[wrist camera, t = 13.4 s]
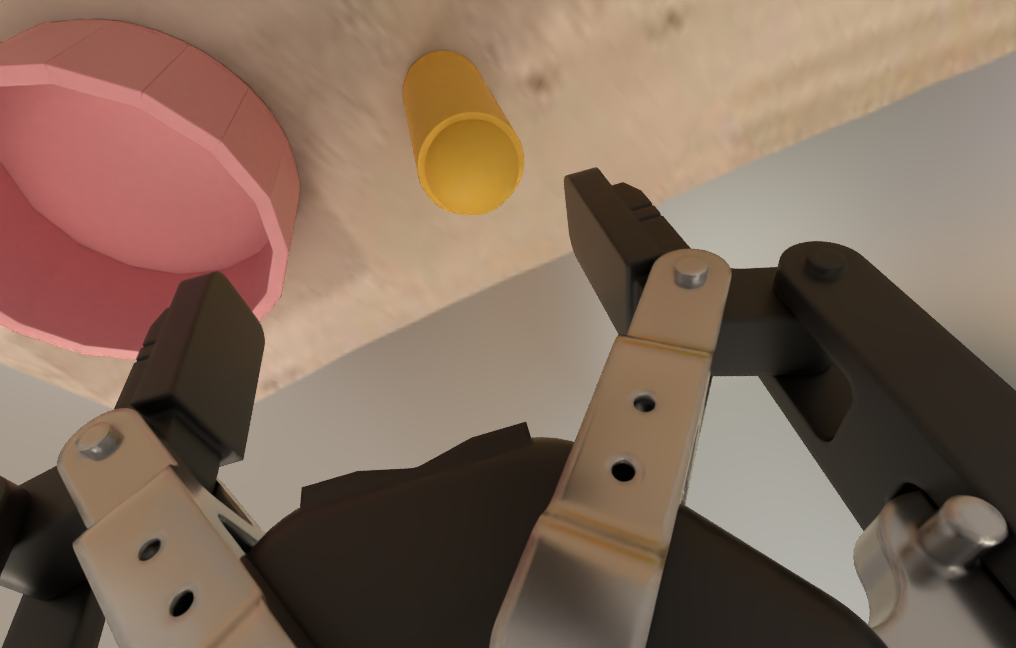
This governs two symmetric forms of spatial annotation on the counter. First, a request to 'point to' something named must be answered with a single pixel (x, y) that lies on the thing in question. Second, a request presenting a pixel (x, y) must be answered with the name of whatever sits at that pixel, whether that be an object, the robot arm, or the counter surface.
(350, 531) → the robot arm
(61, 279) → the pot
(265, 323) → the counter surface
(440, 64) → the yellow rounded cylinder
